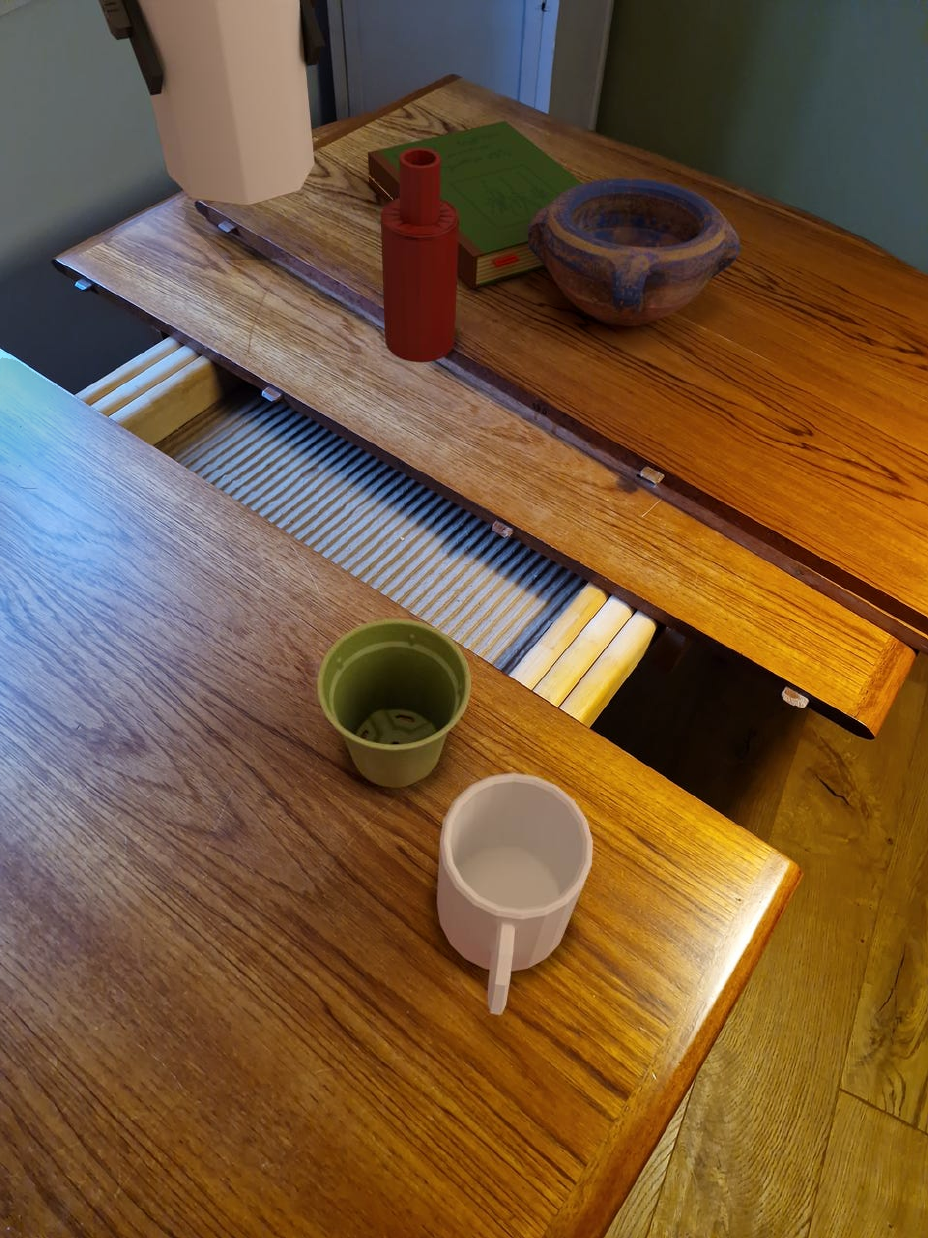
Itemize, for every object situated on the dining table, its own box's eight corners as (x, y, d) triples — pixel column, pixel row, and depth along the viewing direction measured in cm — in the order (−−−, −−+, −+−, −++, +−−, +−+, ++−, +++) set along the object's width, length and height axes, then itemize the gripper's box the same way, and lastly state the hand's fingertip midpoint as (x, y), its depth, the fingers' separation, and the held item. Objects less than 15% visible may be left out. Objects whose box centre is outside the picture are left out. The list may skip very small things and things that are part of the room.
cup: (251, 224, 65) (201, -91, 50) (137, 177, 68) (59, -131, 53) (343, 163, 71) (324, -135, 56) (234, 122, 74) (189, -169, 59)
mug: (416, 1032, 50) (416, 985, 43) (447, 834, 58) (452, 762, 50) (558, 1055, 50) (584, 1011, 42) (572, 852, 57) (596, 783, 49)
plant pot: (478, 706, 64) (485, 635, 57) (447, 827, 58) (451, 764, 51) (352, 678, 65) (344, 605, 58) (309, 794, 59) (295, 728, 52)
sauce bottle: (378, 356, 87) (370, 171, 73) (394, 316, 91) (389, 133, 77) (446, 366, 86) (452, 182, 72) (459, 325, 91) (467, 143, 76)
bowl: (630, 236, 102) (648, 146, 94) (740, 317, 93) (770, 226, 85) (501, 280, 96) (509, 188, 88) (606, 372, 87) (625, 279, 79)
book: (369, 184, 107) (367, 152, 104) (502, 151, 113) (505, 120, 110) (475, 292, 94) (477, 259, 91) (619, 249, 100) (625, 217, 97)
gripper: (271, -257, 64) (375, 67, 69) (-73, -235, 57) (69, 126, 61) (292, -354, 57) (406, 14, 62) (-98, -344, 50) (65, 73, 54)
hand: (238, 70), depth 61 cm, fingers closed on cup, 11 cm apart
